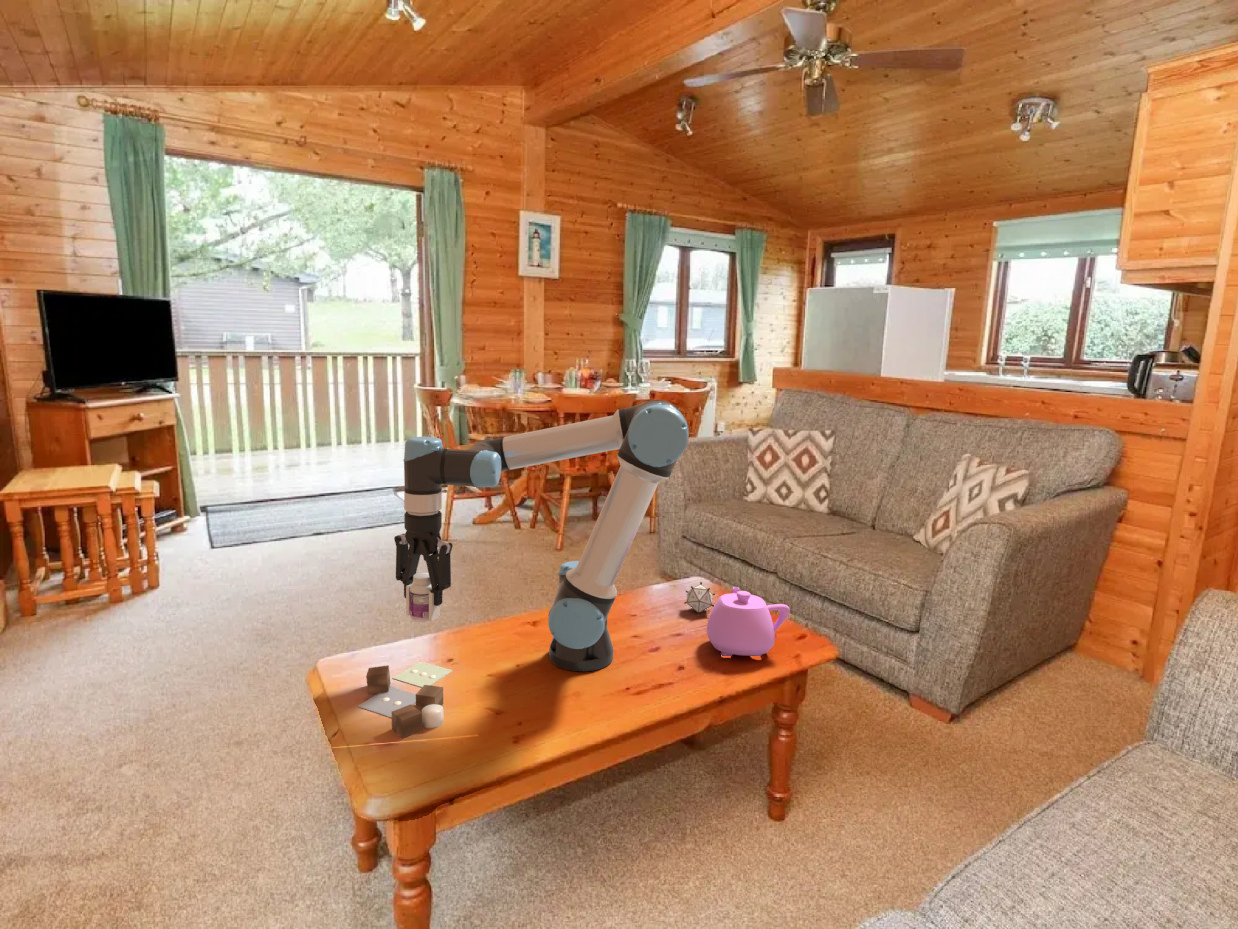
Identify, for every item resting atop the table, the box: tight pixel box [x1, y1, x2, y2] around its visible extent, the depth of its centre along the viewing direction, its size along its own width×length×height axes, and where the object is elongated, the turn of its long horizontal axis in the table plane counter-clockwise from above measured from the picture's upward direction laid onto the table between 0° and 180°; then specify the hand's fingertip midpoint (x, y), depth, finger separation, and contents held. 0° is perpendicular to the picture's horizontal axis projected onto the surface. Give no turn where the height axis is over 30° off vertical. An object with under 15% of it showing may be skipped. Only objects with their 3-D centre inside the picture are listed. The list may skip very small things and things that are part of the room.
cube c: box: [365, 665, 391, 695], centre depth 144 cm, size 4×4×4 cm
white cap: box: [422, 704, 444, 729], centre depth 132 cm, size 4×4×3 cm
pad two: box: [357, 685, 417, 719], centre depth 139 cm, size 9×9×1 cm
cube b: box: [391, 704, 423, 739], centre depth 129 cm, size 4×4×4 cm
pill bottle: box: [409, 571, 432, 623], centre depth 147 cm, size 5×5×10 cm
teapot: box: [706, 586, 791, 657], centre depth 171 cm, size 20×20×15 cm
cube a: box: [415, 685, 444, 712], centre depth 137 cm, size 4×4×4 cm
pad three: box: [392, 660, 454, 689], centre depth 151 cm, size 9×9×1 cm
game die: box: [683, 581, 716, 613], centre depth 193 cm, size 9×8×10 cm
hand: (423, 615), depth 148 cm, fingers closed on pill bottle, 5 cm apart
